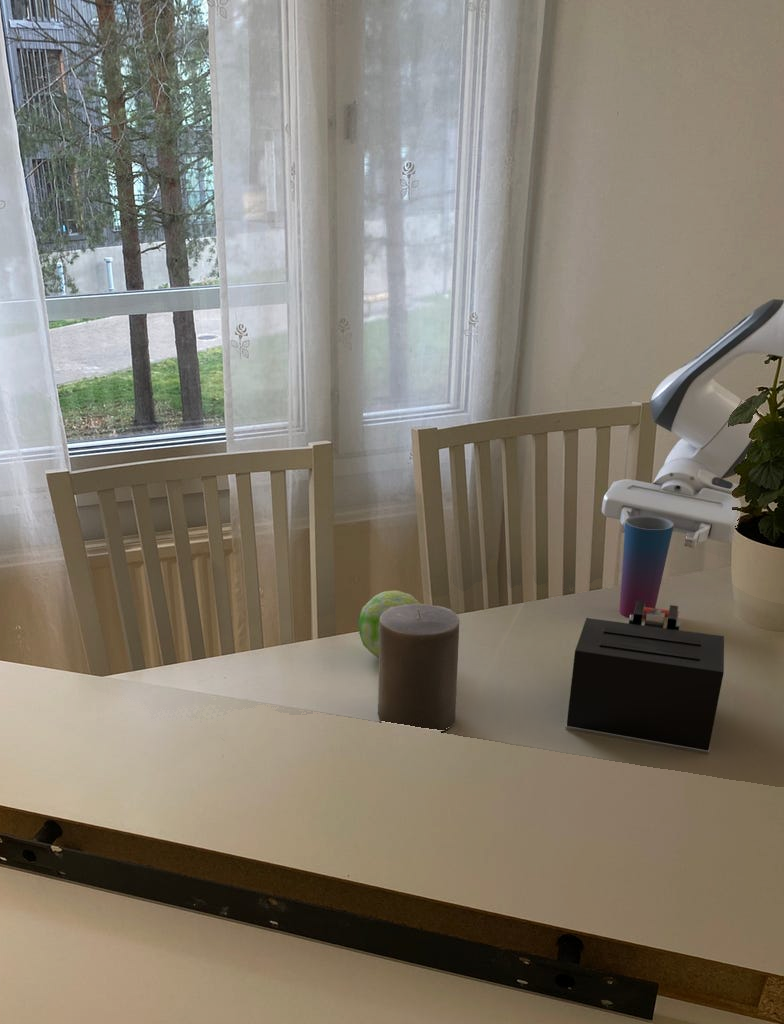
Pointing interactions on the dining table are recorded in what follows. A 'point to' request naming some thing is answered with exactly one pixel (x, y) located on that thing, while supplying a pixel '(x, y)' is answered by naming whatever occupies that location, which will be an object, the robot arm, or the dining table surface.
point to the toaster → (646, 684)
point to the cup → (643, 561)
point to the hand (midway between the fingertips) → (657, 536)
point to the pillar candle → (418, 666)
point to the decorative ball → (372, 613)
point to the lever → (655, 617)
